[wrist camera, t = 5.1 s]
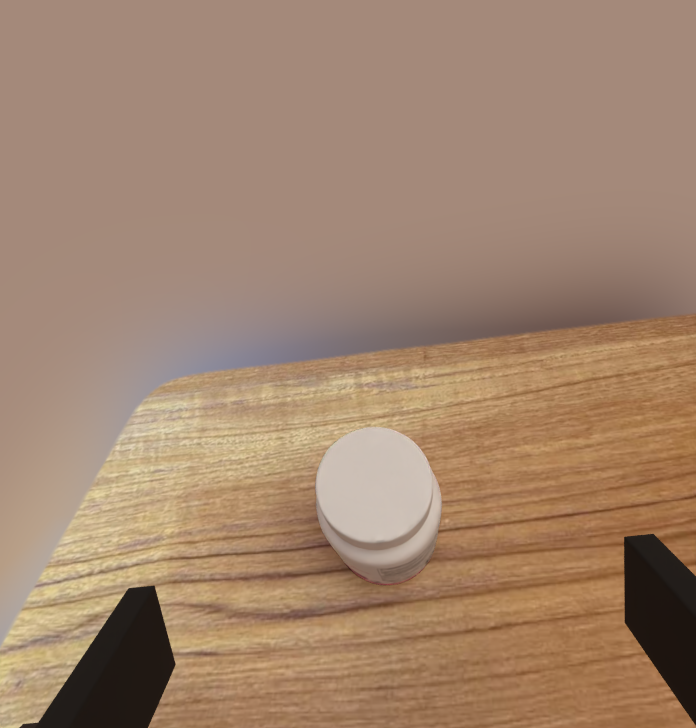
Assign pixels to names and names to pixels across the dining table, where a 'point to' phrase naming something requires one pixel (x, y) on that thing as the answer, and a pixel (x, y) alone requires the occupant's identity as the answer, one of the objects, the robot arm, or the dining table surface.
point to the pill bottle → (379, 504)
